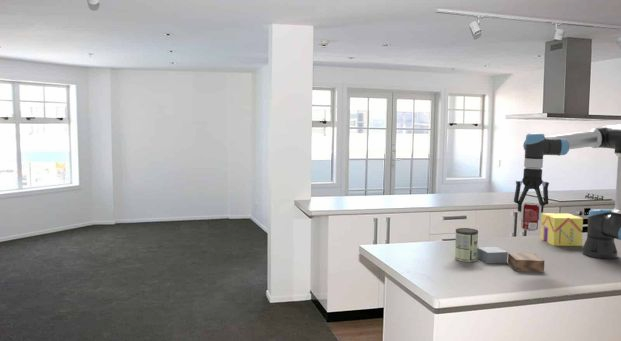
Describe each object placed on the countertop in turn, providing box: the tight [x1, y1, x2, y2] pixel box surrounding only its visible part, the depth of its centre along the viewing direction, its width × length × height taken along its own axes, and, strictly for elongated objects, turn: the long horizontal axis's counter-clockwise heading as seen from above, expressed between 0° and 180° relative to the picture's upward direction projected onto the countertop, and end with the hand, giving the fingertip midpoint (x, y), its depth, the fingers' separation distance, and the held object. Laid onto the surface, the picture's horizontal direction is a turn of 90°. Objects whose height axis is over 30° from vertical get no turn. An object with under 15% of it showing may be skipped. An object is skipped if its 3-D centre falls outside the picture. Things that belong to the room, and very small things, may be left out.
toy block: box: [540, 212, 584, 247], centre depth 271 cm, size 15×15×15 cm
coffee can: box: [454, 227, 479, 263], centre depth 235 cm, size 10×10×14 cm
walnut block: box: [507, 252, 545, 273], centre depth 221 cm, size 12×12×5 cm
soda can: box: [520, 202, 539, 232], centre depth 220 cm, size 7×7×12 cm
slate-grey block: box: [477, 246, 509, 264], centre depth 234 cm, size 10×10×5 cm
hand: (529, 219), depth 220 cm, fingers closed on soda can, 7 cm apart
